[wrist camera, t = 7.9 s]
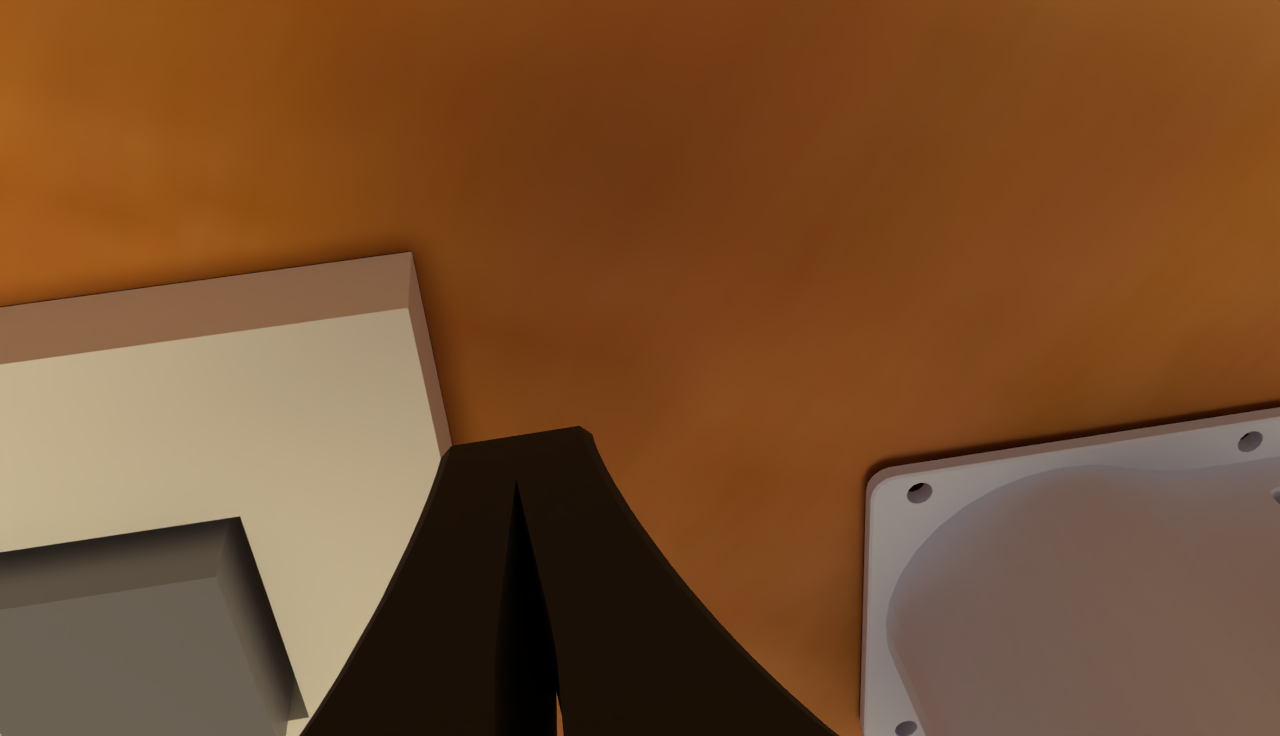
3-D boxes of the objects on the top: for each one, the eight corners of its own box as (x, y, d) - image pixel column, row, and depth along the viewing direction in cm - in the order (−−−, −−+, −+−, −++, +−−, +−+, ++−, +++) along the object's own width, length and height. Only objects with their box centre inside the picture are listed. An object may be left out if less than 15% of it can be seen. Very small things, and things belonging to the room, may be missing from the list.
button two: (243, 467, 21) (215, 576, 19) (300, 638, 24) (282, 756, 21) (-3, 503, 21) (-64, 619, 19) (80, 673, 23) (35, 797, 21)
